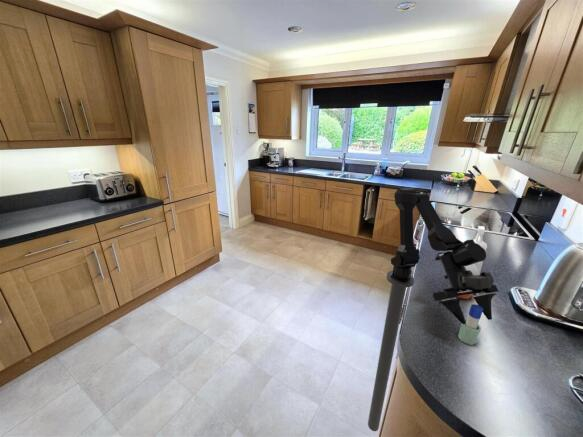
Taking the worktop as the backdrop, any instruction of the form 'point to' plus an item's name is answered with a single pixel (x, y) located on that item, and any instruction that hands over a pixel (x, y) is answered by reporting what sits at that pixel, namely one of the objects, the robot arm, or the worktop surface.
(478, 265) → the white bottle
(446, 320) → the worktop surface
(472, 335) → the glass
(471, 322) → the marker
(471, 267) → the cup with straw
